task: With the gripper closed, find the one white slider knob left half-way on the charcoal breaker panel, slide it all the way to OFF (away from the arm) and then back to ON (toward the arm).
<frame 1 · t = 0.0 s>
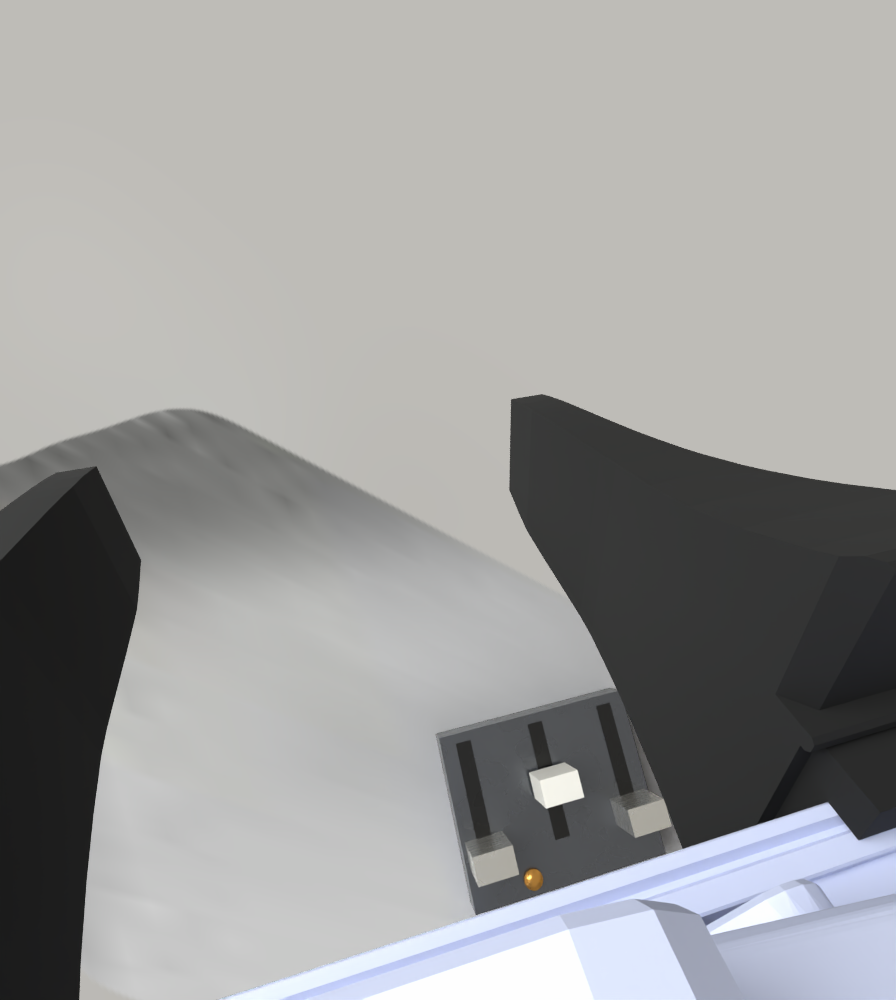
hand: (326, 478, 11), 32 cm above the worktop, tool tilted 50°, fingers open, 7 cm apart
breaker panel: (543, 788, 40), on the worktop
white slider knob: (555, 784, 37), point 4 cm above the worktop, slide at 3.0 cm
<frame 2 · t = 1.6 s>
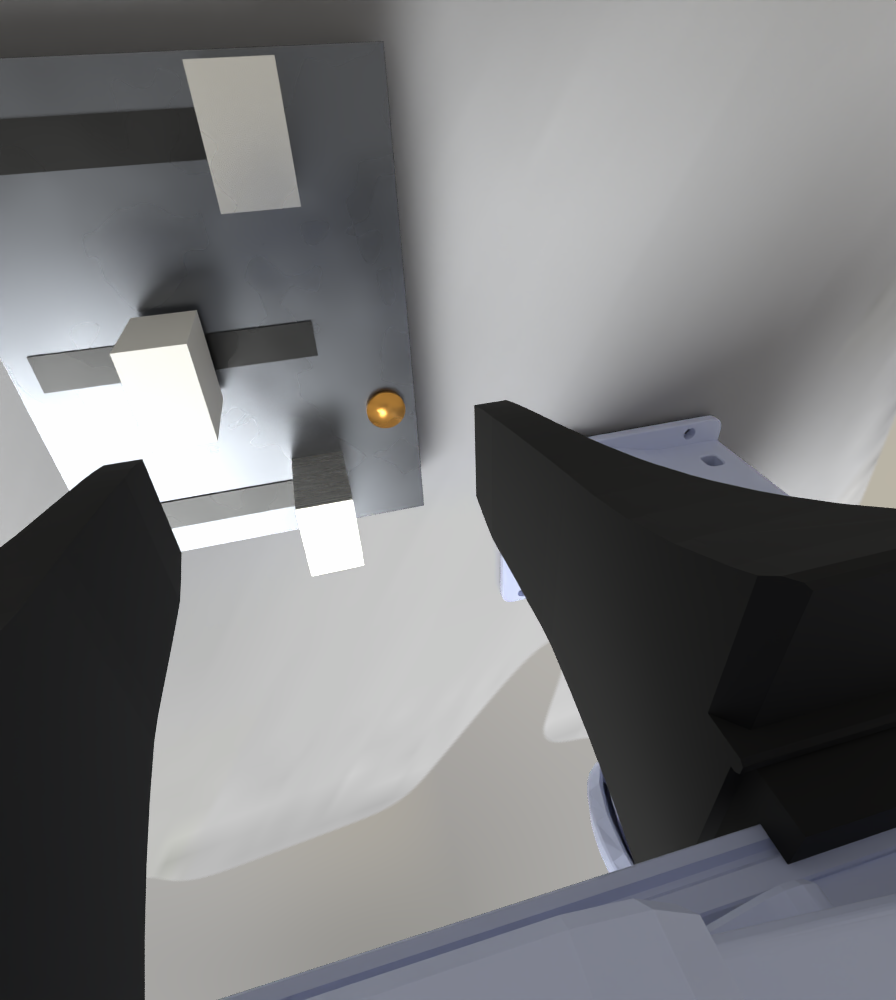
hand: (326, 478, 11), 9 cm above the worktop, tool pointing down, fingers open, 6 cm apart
breaker panel: (224, 327, 18), on the worktop
white slider knob: (173, 379, 15), point 4 cm above the worktop, slide at 3.0 cm
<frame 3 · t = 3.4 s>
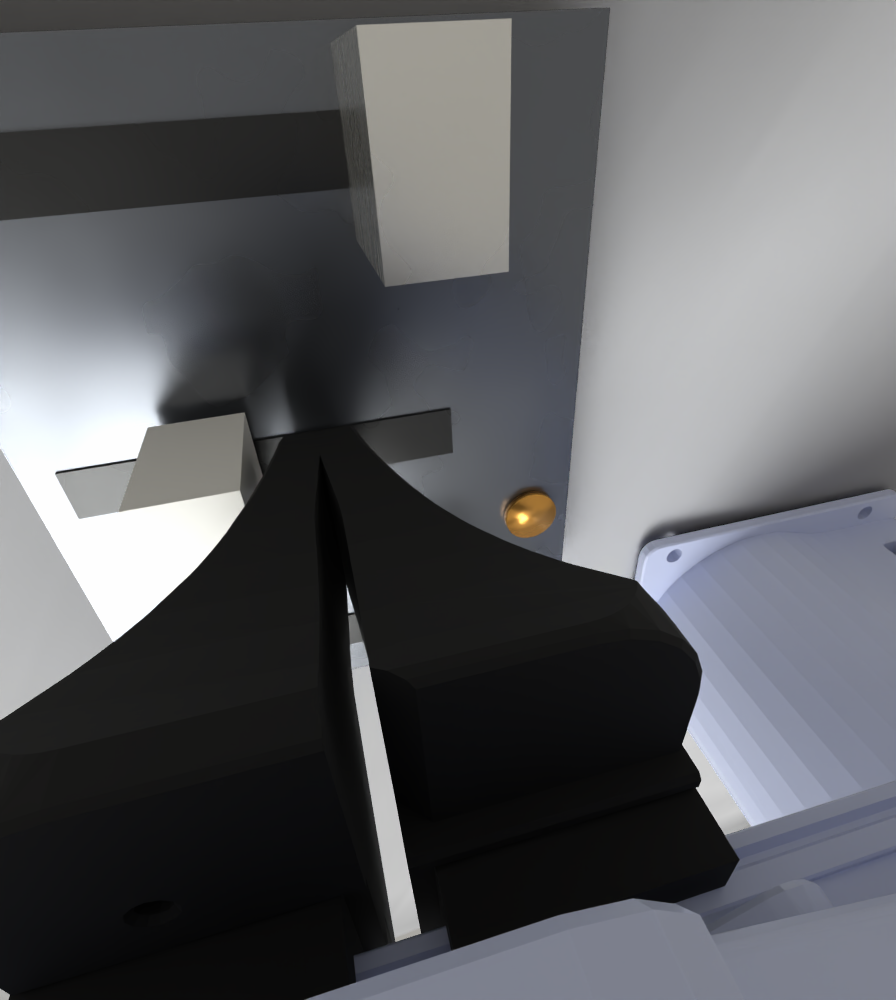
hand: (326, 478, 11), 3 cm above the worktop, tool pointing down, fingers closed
breaker panel: (317, 407, 13), on the worktop
white slider knob: (212, 519, 10), point 4 cm above the worktop, slide at 4.0 cm, touching gripper
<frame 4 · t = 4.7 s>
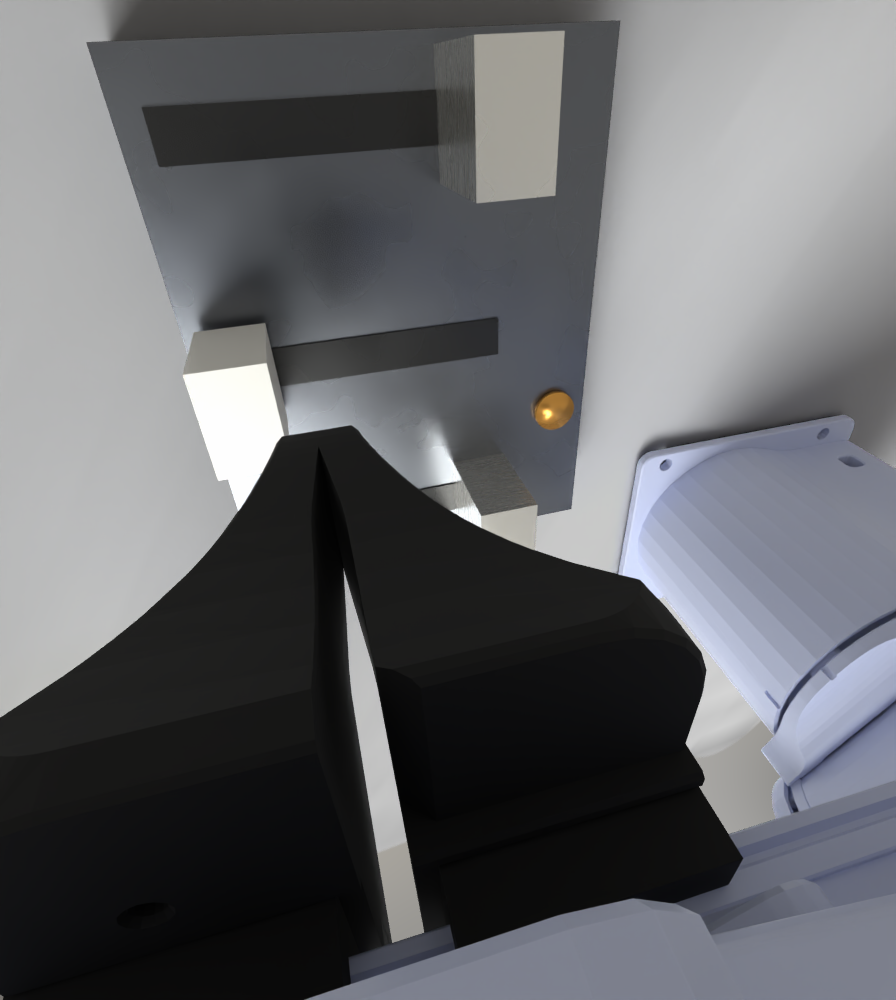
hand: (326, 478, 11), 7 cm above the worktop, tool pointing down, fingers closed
breaker panel: (391, 324, 17), on the worktop
white slider knob: (242, 399, 13), point 4 cm above the worktop, slide at 6.1 cm
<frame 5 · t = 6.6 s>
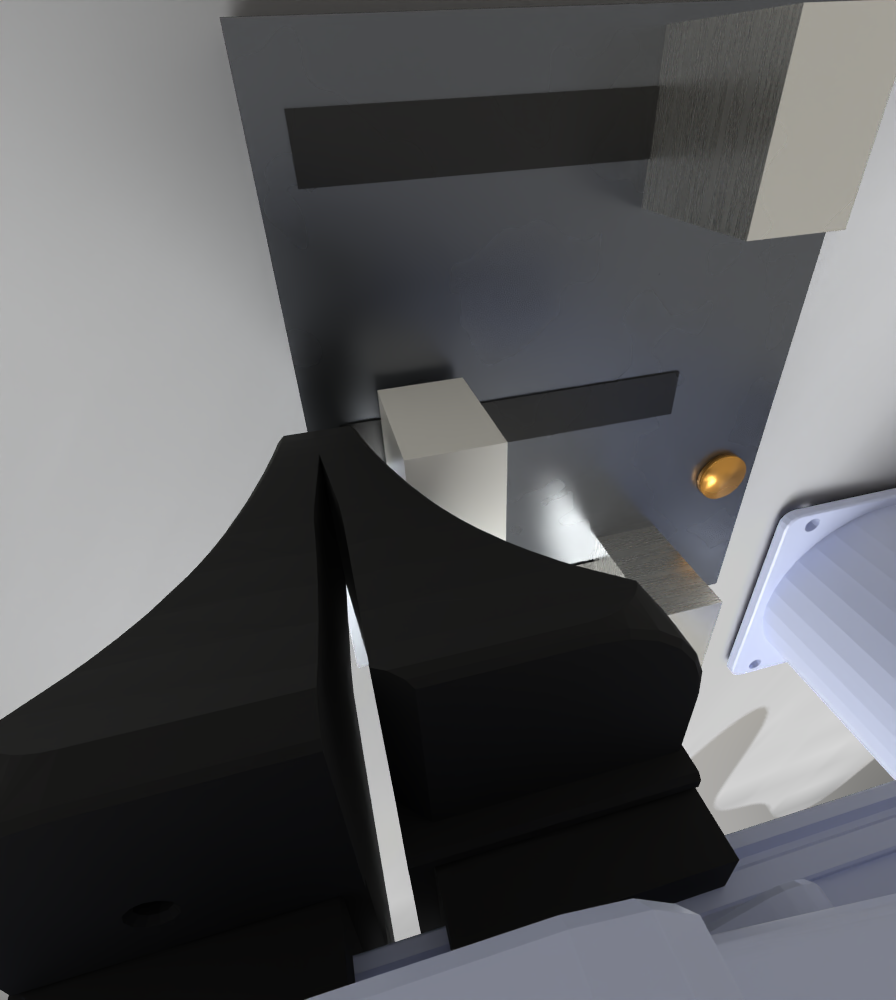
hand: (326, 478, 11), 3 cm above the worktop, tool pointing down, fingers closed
breaker panel: (530, 373, 14), on the worktop
white slider knob: (440, 476, 10), point 4 cm above the worktop, slide at 5.0 cm, touching gripper
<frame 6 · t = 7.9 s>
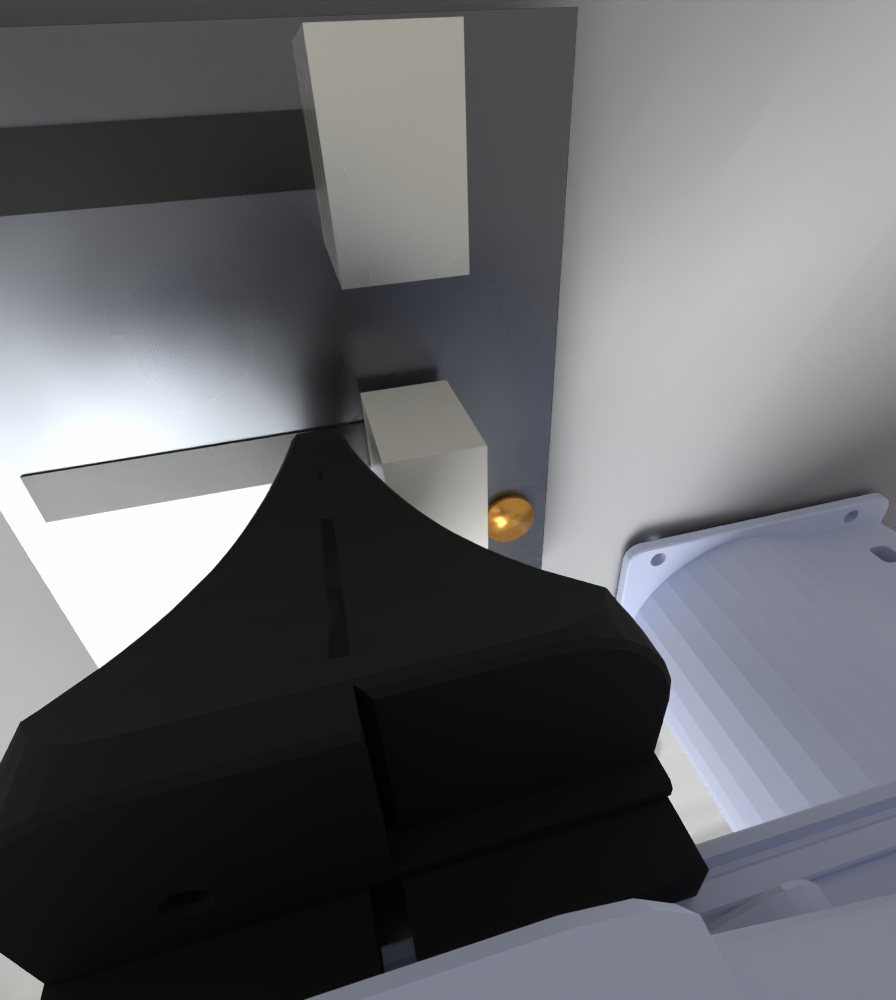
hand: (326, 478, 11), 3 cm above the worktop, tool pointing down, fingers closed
breaker panel: (293, 410, 13), on the worktop
white slider knob: (423, 479, 10), point 4 cm above the worktop, slide at -0.2 cm, touching gripper
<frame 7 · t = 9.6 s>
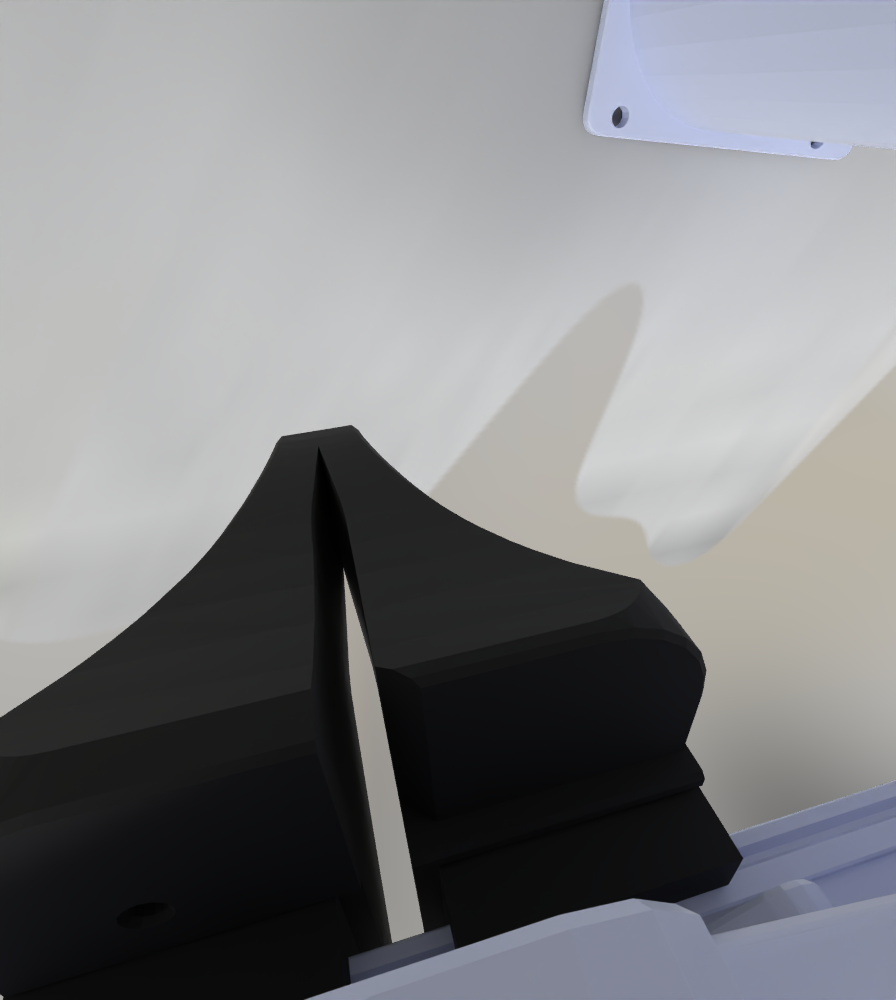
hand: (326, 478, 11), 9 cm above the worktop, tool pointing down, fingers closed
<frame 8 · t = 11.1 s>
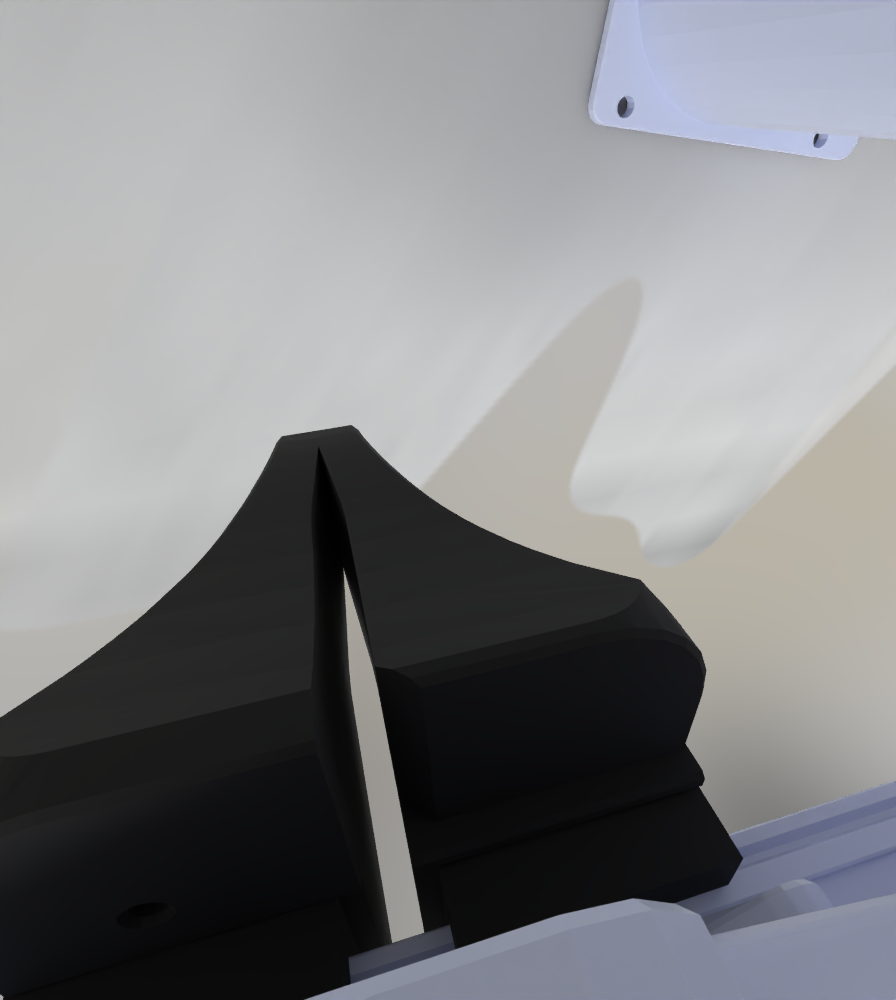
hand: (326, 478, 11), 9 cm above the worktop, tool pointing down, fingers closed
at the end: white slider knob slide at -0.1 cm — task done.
